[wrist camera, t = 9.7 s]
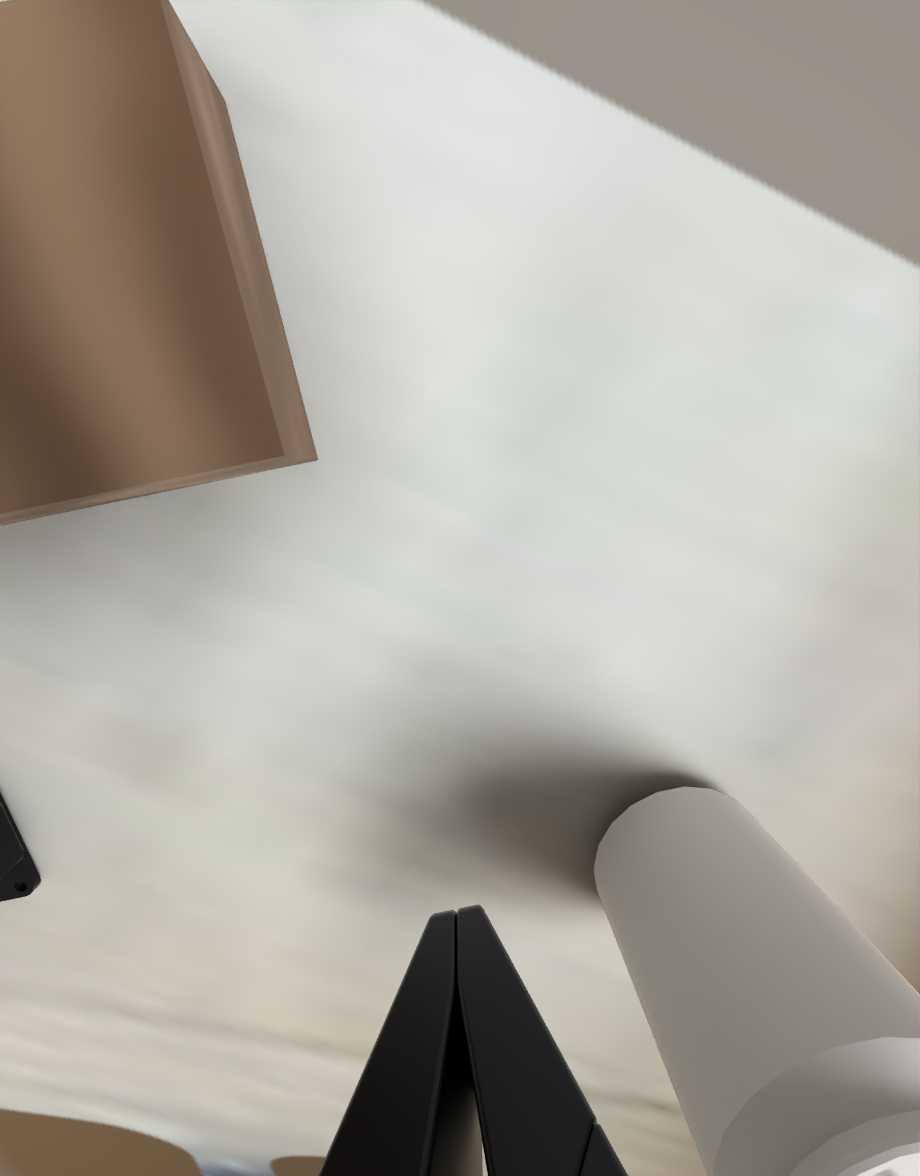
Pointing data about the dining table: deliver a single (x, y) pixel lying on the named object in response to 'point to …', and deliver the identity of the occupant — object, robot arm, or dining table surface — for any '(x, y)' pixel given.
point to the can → (761, 995)
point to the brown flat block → (128, 269)
